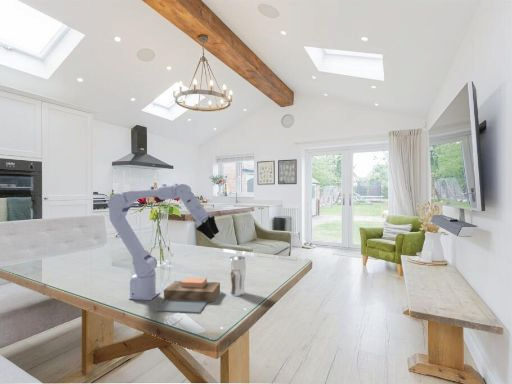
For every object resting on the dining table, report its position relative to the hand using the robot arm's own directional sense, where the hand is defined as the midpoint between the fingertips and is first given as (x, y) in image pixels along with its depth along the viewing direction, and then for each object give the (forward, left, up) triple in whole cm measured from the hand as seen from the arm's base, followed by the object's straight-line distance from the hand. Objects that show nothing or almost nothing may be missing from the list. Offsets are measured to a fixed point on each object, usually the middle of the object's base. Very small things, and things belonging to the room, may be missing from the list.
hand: (214, 235), depth 116 cm
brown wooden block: (-9, -2, -25) cm, 26 cm away
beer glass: (+9, +2, -25) cm, 27 cm away
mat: (-9, -13, -25) cm, 29 cm away
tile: (-9, -1, -21) cm, 22 cm away
